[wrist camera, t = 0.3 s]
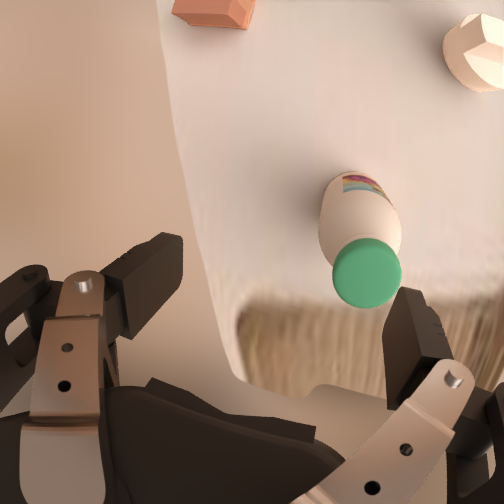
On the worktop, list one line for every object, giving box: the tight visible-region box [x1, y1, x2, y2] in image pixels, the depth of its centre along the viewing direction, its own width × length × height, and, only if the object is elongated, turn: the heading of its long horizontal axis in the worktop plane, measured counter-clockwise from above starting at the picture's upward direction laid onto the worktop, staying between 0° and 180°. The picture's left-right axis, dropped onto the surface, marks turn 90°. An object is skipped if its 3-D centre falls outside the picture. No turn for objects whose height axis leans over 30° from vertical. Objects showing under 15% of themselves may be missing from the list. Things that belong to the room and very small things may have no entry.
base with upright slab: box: [443, 13, 504, 92], centre depth 18 cm, size 9×9×12 cm
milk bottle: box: [318, 172, 401, 308], centre depth 27 cm, size 8×8×20 cm
